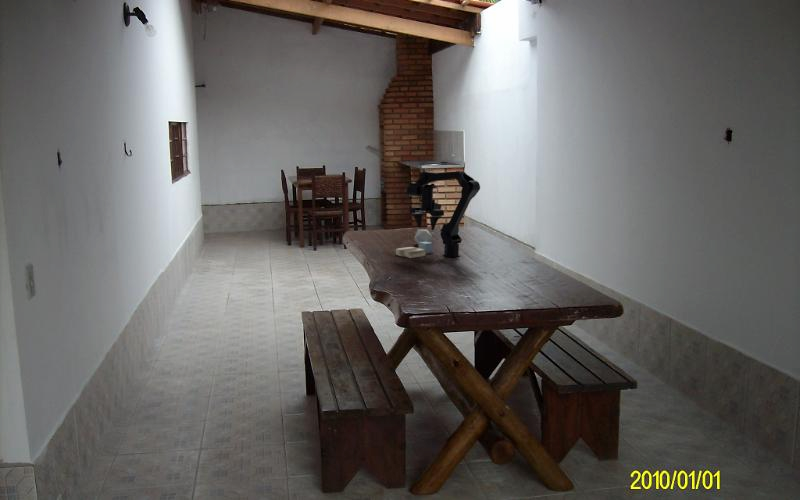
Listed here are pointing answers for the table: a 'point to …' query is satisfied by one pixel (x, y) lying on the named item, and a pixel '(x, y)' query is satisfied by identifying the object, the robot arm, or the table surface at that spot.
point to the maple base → (410, 252)
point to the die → (423, 236)
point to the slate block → (426, 246)
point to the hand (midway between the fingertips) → (426, 228)
